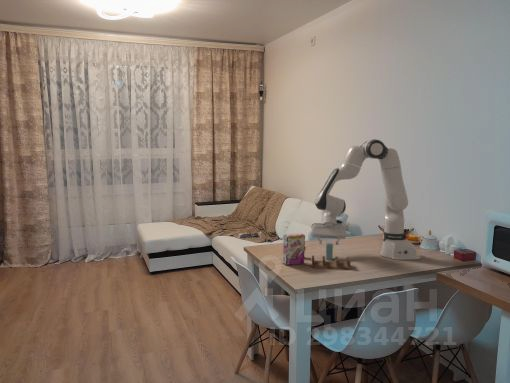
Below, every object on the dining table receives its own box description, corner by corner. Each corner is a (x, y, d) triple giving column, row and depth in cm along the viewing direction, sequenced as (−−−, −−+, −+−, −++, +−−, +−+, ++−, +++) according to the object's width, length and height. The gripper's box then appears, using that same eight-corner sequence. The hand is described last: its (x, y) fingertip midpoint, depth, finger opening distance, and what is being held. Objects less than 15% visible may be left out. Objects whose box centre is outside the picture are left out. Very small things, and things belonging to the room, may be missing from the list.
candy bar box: (286, 266, 223) (287, 236, 221) (282, 263, 228) (283, 234, 225) (304, 263, 227) (305, 234, 225) (300, 261, 232) (301, 232, 230)
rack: (348, 264, 228) (348, 256, 227) (350, 269, 218) (350, 262, 217) (311, 262, 230) (312, 255, 229) (311, 267, 220) (312, 260, 220)
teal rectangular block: (331, 257, 239) (332, 242, 238) (332, 259, 235) (332, 244, 234) (325, 257, 240) (326, 242, 239) (326, 259, 236) (326, 244, 235)
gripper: (311, 220, 246) (310, 240, 238) (346, 221, 243) (347, 241, 235) (311, 225, 251) (310, 245, 242) (345, 227, 248) (345, 247, 240)
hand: (328, 243), depth 239 cm, fingers open, 8 cm apart
